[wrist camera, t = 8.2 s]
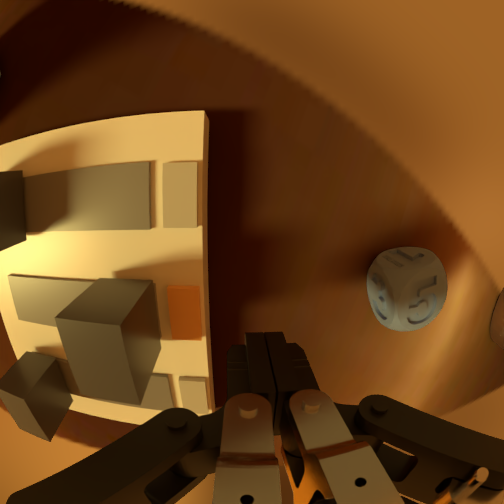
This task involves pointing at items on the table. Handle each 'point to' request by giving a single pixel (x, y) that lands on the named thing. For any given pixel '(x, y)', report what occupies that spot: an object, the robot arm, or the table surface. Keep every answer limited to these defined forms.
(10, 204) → the block
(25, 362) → the block
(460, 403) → the table surface
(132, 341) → the block
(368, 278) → the decorative dice
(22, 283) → the breaker panel
